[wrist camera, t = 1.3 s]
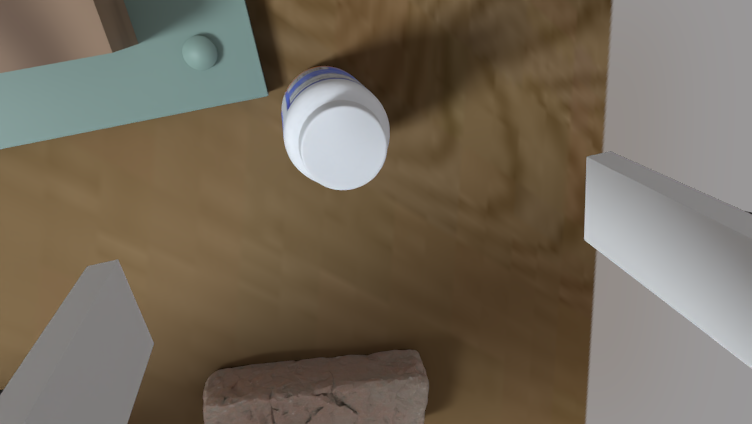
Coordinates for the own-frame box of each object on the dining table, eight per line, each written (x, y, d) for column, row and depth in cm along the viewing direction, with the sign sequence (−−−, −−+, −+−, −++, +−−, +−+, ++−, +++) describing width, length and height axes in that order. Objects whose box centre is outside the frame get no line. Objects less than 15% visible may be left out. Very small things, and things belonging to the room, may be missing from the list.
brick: (419, 343, 40) (436, 383, 36) (411, 421, 43) (427, 467, 39) (205, 361, 37) (196, 408, 33) (214, 445, 40) (207, 497, 36)
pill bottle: (356, 156, 33) (389, 214, 24) (274, 142, 31) (276, 198, 23) (375, 73, 31) (417, 103, 22) (288, 54, 30) (296, 78, 21)
